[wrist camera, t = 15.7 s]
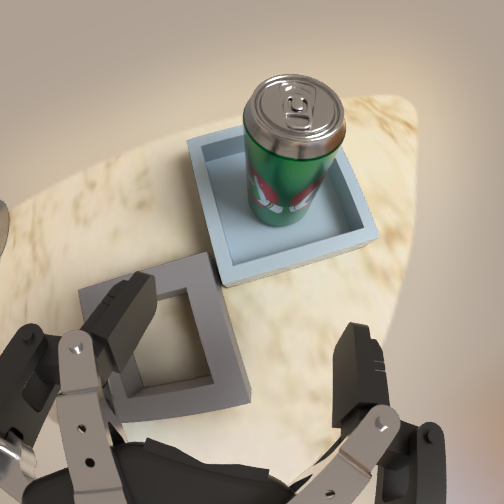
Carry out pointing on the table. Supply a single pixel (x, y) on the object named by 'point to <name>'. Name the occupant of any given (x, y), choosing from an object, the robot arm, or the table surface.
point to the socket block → (212, 338)
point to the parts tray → (267, 236)
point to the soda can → (289, 145)
